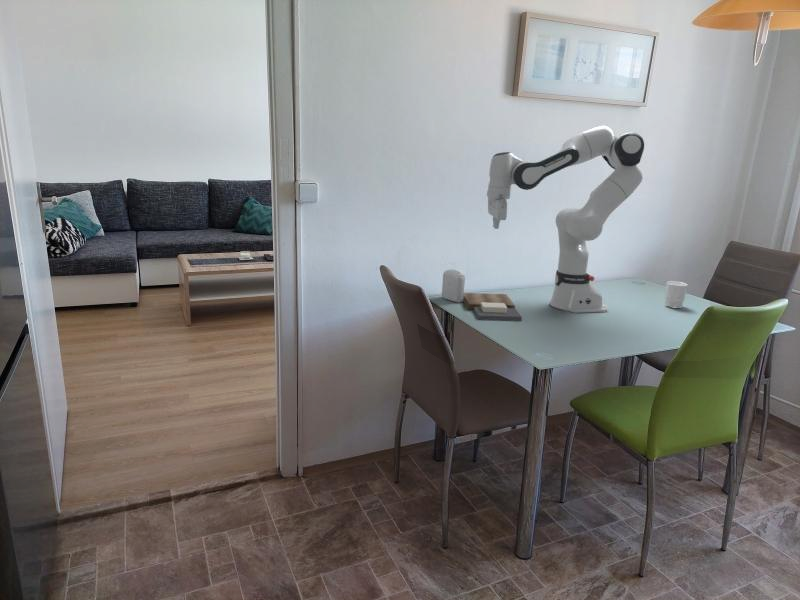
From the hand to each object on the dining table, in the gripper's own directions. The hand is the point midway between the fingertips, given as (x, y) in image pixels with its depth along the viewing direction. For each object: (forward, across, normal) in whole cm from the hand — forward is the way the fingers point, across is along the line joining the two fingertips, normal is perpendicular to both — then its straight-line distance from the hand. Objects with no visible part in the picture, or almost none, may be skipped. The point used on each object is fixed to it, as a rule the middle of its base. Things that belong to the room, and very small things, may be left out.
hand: (495, 228), depth 236 cm
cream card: (+28, -24, +3) cm, 36 cm away
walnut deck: (+29, -12, +3) cm, 32 cm away
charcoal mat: (+29, -26, +2) cm, 39 cm away
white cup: (+29, -6, -76) cm, 82 cm away
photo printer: (+29, -6, +16) cm, 34 cm away
